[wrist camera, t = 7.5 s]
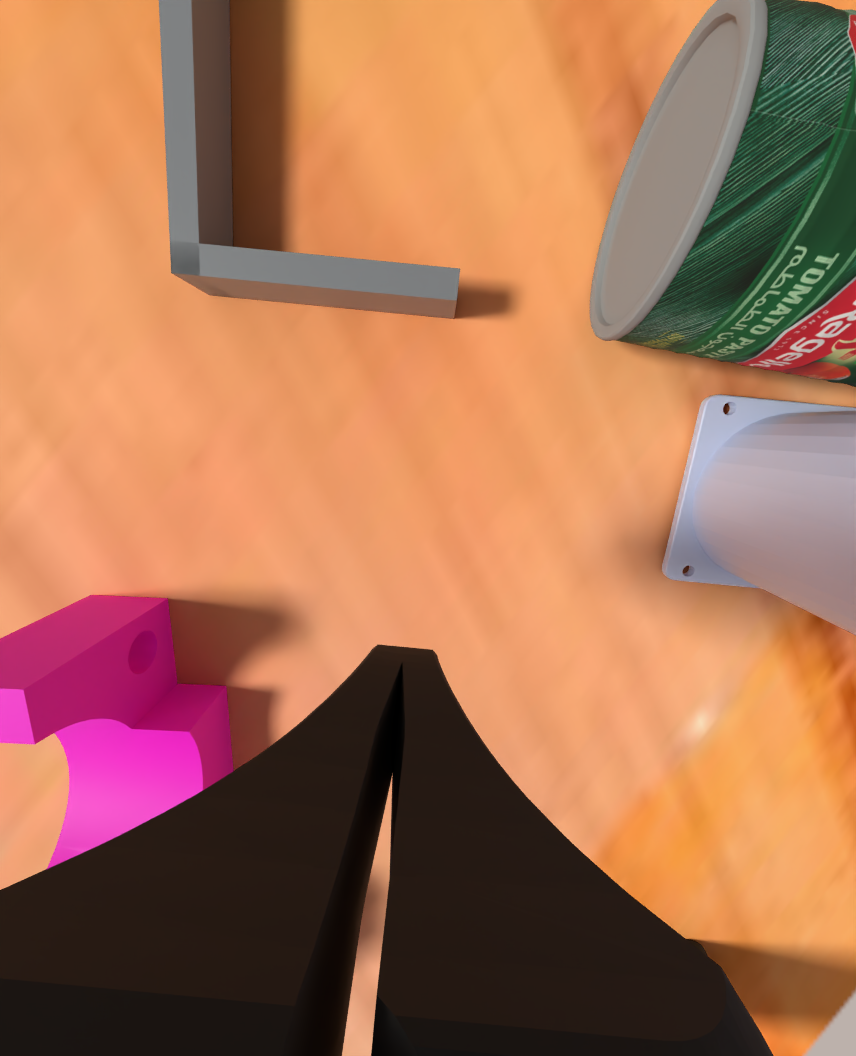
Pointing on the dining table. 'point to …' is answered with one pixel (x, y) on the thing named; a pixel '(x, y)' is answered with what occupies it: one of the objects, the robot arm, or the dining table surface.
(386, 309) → the box
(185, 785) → the toy block
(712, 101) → the canned tomato
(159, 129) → the dining table surface
